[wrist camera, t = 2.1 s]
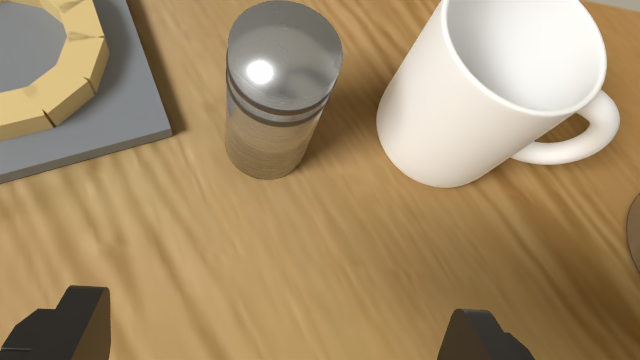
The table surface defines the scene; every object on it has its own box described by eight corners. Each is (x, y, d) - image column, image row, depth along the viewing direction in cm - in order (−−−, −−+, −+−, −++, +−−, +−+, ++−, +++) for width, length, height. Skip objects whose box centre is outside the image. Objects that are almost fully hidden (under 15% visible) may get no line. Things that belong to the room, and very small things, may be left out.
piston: (288, 97, 30) (317, -10, 21) (318, 166, 29) (362, 82, 20) (212, 117, 28) (210, 11, 20) (240, 191, 27) (251, 113, 18)
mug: (550, 132, 33) (684, 41, 23) (527, 237, 30) (671, 182, 20) (395, 58, 32) (468, -64, 23) (354, 158, 29) (419, 63, 20)
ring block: (106, -50, 31) (97, -83, 29) (172, 136, 27) (168, 116, 25) (-153, -12, 27) (-188, -47, 24) (-114, 215, 23) (-151, 199, 21)
